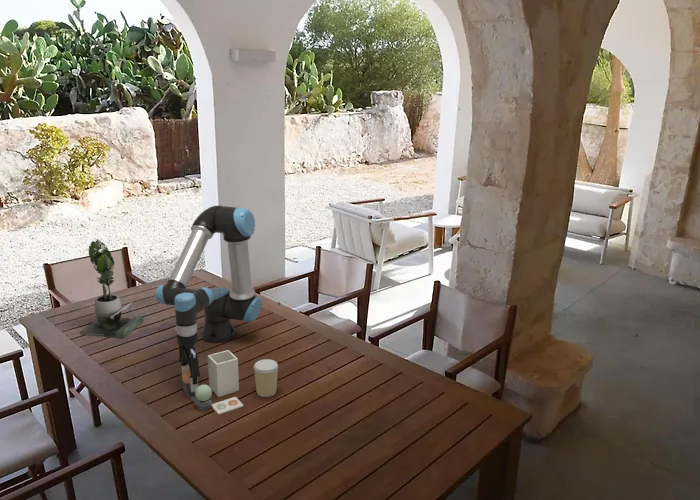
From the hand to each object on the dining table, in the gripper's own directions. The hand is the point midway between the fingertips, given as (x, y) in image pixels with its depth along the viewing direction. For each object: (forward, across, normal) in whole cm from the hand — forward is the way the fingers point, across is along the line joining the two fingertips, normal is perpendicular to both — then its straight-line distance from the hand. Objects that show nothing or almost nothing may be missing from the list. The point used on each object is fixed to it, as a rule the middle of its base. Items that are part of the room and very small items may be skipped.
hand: (190, 385), depth 225 cm
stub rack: (+2, +7, 0) cm, 7 cm away
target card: (+2, +19, +7) cm, 20 cm away
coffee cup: (+2, +18, +24) cm, 30 cm away
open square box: (+2, +7, +11) cm, 13 cm away
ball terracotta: (-1, 0, 0) cm, 1 cm away
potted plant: (+2, -73, -11) cm, 74 cm away
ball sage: (-1, +14, 0) cm, 14 cm away
